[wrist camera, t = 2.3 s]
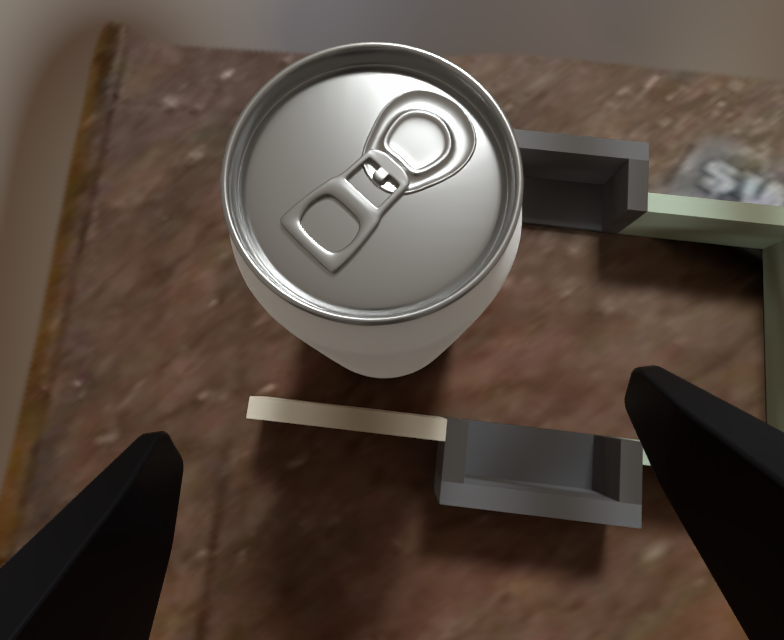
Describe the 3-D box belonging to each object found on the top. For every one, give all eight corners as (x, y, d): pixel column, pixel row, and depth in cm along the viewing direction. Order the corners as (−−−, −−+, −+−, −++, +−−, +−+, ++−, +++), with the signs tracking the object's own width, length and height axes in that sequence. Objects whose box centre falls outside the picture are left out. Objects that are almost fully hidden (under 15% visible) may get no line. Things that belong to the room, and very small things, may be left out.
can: (488, 304, 20) (621, 171, 8) (385, 411, 19) (372, 430, 8) (383, 208, 21) (371, -39, 9) (281, 307, 20) (123, 177, 8)
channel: (256, 469, 19) (236, 479, 17) (308, 140, 22) (297, 107, 19) (789, 533, 19) (850, 553, 16) (778, 189, 21) (829, 161, 19)
